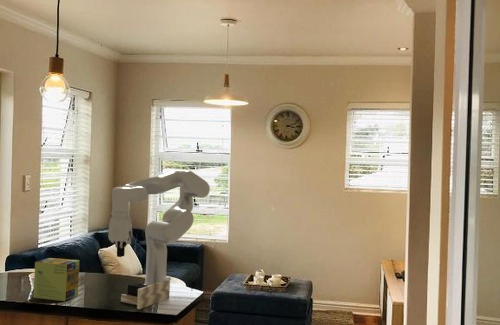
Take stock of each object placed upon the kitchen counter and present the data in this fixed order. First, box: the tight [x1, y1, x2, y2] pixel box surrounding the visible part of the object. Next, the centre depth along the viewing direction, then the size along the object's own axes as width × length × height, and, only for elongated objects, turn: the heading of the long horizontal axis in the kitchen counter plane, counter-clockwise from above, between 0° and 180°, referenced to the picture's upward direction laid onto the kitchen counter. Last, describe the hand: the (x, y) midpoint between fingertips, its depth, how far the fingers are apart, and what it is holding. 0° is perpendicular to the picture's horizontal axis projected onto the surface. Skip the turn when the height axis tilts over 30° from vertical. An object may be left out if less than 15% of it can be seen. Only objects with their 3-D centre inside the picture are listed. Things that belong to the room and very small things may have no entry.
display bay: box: [120, 279, 171, 310], centre depth 220 cm, size 21×13×8 cm, turn 154°
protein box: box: [32, 257, 80, 302], centre depth 222 cm, size 10×15×16 cm
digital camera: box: [127, 282, 148, 297], centre depth 220 cm, size 10×5×7 cm, turn 61°
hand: (120, 256), depth 227 cm, fingers closed
